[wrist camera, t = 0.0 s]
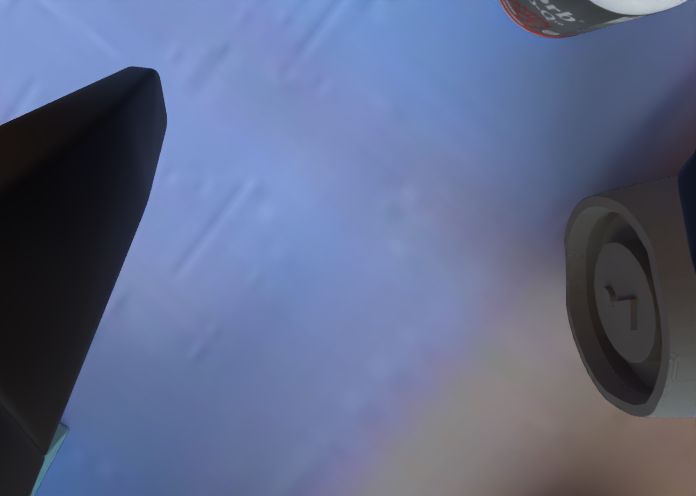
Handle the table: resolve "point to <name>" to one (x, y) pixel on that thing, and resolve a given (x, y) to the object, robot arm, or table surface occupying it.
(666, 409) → the bluetooth speaker
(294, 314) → the table surface
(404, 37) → the table surface
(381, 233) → the table surface
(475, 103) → the table surface
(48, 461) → the tub
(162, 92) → the robot arm
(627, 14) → the pill bottle
